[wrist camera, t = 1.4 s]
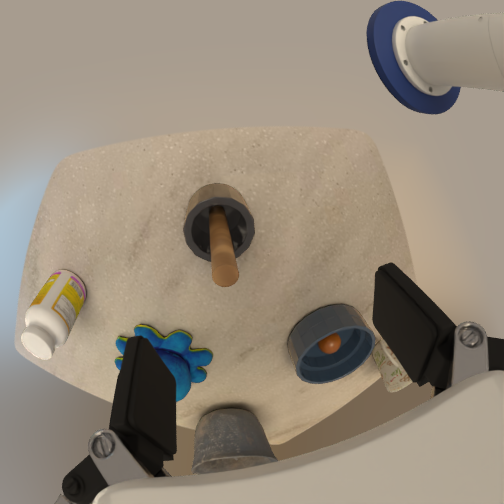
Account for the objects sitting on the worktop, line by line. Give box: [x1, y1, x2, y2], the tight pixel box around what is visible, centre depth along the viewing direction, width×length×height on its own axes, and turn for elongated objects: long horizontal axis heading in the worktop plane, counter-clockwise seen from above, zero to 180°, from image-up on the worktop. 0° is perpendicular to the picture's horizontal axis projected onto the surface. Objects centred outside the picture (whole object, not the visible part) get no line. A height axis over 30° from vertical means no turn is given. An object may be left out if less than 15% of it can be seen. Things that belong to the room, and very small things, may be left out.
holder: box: [183, 183, 255, 262], centre depth 30 cm, size 7×7×6 cm
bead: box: [318, 333, 341, 354], centre depth 44 cm, size 4×4×4 cm
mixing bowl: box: [287, 304, 375, 384], centre depth 44 cm, size 14×14×6 cm
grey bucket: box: [191, 409, 278, 475], centre depth 48 cm, size 18×18×15 cm
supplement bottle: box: [21, 270, 86, 360], centre depth 29 cm, size 7×7×13 cm
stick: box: [209, 206, 239, 287], centre depth 27 cm, size 2×2×14 cm
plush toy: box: [115, 324, 213, 402], centre depth 40 cm, size 17×17×8 cm
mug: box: [372, 339, 412, 392], centre depth 47 cm, size 8×13×10 cm, turn 43°
